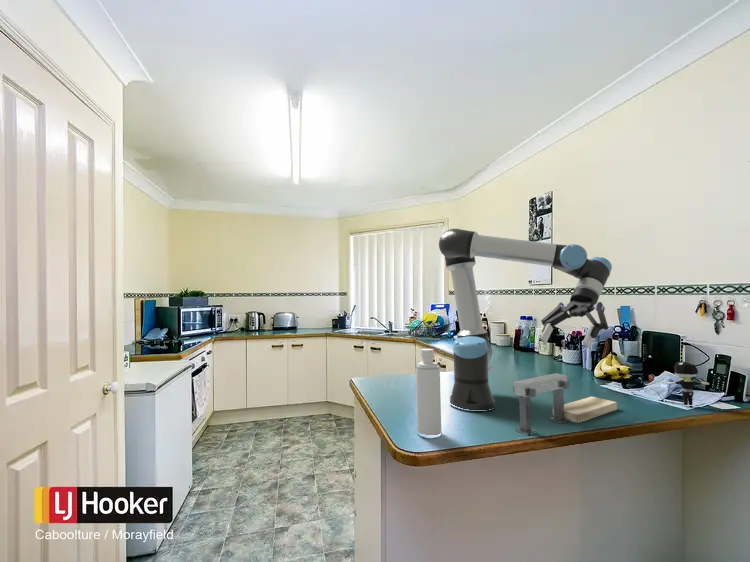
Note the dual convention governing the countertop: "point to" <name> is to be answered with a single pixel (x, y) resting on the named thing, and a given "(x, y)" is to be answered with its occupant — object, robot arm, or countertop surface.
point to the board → (587, 408)
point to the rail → (539, 384)
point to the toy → (686, 379)
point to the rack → (526, 413)
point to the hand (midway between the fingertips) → (563, 343)
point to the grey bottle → (428, 394)
